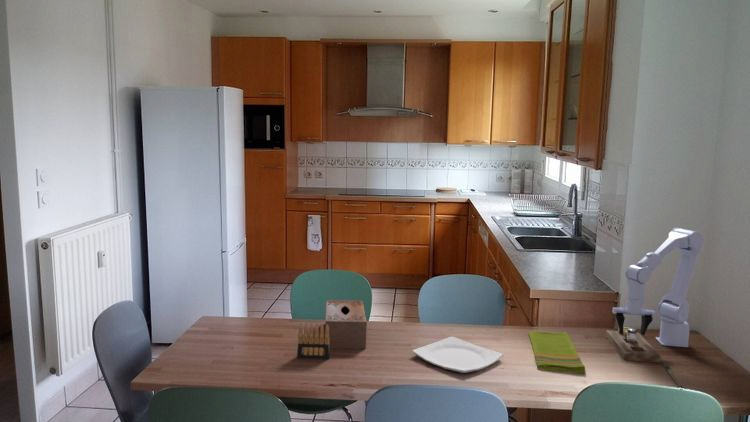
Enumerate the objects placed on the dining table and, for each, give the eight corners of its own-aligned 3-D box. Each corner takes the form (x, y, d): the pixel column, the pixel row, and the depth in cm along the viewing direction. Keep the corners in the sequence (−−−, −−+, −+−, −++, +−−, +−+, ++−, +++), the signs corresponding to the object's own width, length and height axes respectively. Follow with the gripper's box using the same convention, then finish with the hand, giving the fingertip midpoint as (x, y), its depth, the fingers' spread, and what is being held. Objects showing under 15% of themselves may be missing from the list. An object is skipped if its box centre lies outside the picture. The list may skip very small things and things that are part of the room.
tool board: (637, 338, 223) (638, 332, 223) (659, 362, 199) (660, 355, 199) (605, 336, 225) (606, 330, 224) (623, 359, 201) (624, 352, 201)
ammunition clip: (329, 357, 193) (330, 322, 192) (329, 359, 192) (330, 324, 190) (297, 356, 193) (298, 321, 192) (296, 358, 191) (297, 323, 190)
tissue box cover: (325, 324, 227) (326, 300, 226) (361, 325, 228) (362, 300, 227) (324, 348, 202) (325, 321, 200) (365, 349, 203) (366, 321, 201)
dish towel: (537, 371, 190) (538, 361, 189) (527, 335, 224) (528, 327, 224) (586, 376, 187) (587, 366, 187) (568, 338, 222) (569, 330, 222)
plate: (450, 341, 214) (451, 334, 213) (507, 361, 196) (508, 354, 196) (406, 357, 196) (406, 350, 196) (464, 381, 179) (465, 372, 179)
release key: (628, 332, 222) (629, 327, 221) (633, 337, 217) (633, 331, 216) (617, 332, 222) (618, 326, 222) (621, 336, 217) (622, 331, 217)
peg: (633, 346, 214) (635, 328, 213) (635, 349, 211) (637, 331, 210) (624, 345, 215) (626, 327, 214) (627, 348, 212) (629, 330, 211)
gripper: (652, 296, 214) (648, 331, 215) (611, 293, 215) (608, 328, 217) (658, 301, 207) (655, 338, 208) (617, 298, 208) (613, 334, 210)
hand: (631, 333), depth 212 cm, fingers open, 7 cm apart
